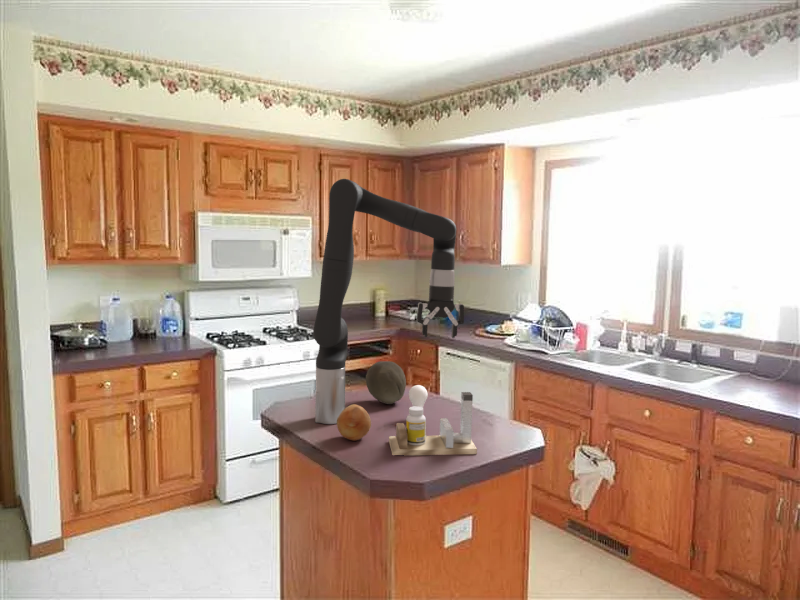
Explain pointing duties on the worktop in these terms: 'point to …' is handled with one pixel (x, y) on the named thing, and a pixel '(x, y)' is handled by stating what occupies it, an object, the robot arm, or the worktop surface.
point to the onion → (353, 422)
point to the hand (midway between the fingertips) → (439, 337)
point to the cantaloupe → (386, 381)
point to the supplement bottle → (416, 426)
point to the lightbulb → (418, 395)
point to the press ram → (465, 427)
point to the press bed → (426, 445)
